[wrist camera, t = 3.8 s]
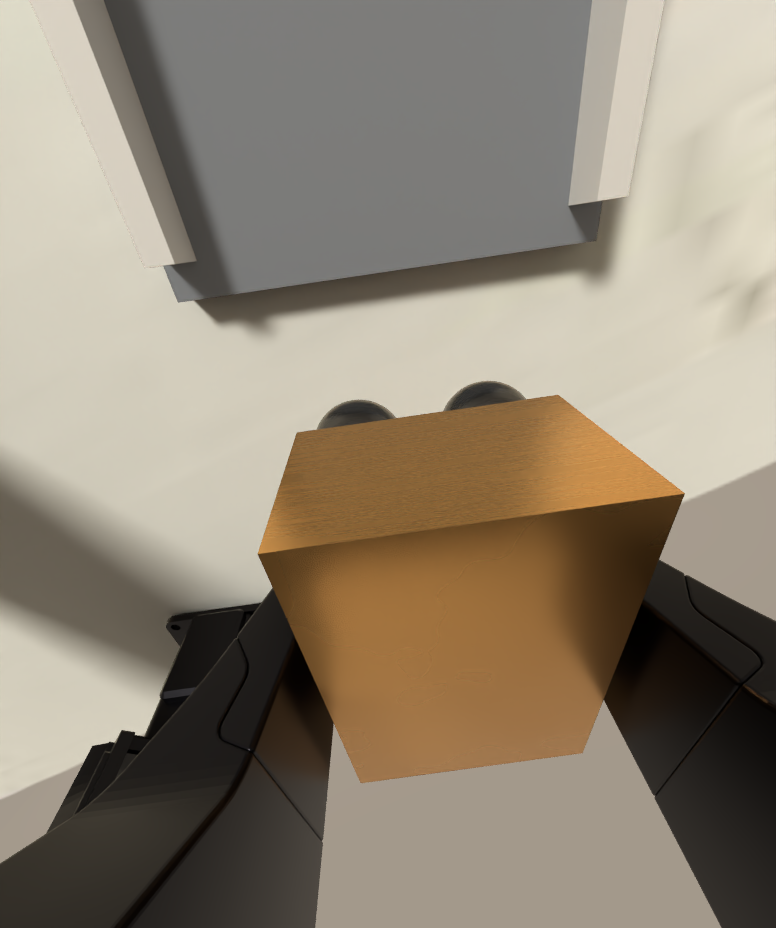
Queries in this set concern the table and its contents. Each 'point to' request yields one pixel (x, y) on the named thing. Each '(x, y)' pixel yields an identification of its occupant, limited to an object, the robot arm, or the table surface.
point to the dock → (353, 128)
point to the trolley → (463, 575)
